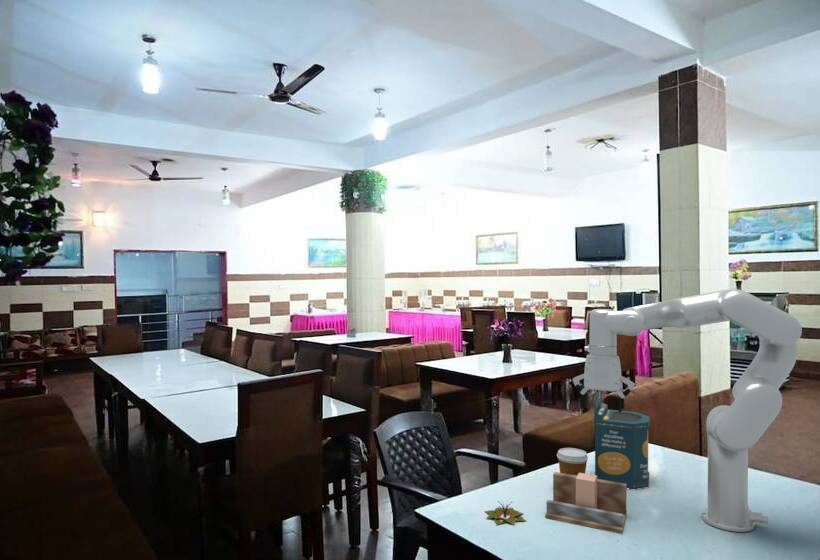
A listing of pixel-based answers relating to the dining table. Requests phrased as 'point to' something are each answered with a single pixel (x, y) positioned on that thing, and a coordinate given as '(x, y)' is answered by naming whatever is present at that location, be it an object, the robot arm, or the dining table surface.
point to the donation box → (621, 445)
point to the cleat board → (604, 517)
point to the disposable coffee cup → (572, 461)
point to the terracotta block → (586, 490)
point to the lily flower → (505, 514)
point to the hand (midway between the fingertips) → (602, 409)
